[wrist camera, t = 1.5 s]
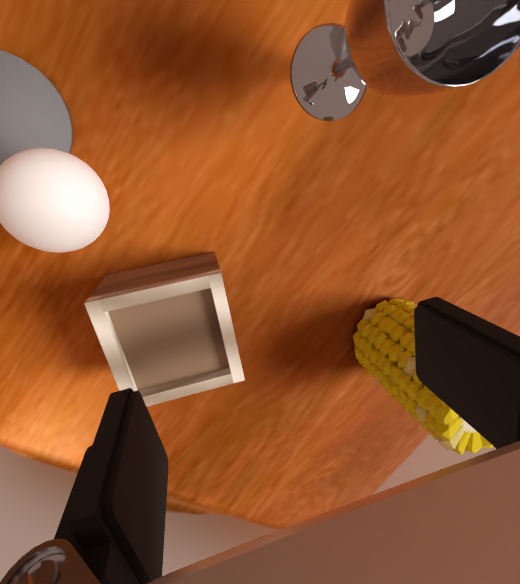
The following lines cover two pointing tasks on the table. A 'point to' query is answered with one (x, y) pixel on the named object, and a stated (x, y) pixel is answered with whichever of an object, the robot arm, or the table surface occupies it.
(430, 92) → the wine glass
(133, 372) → the square holder
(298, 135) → the table surface
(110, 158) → the table surface
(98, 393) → the table surface
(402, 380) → the food
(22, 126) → the grey flat disc
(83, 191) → the lightbulb
